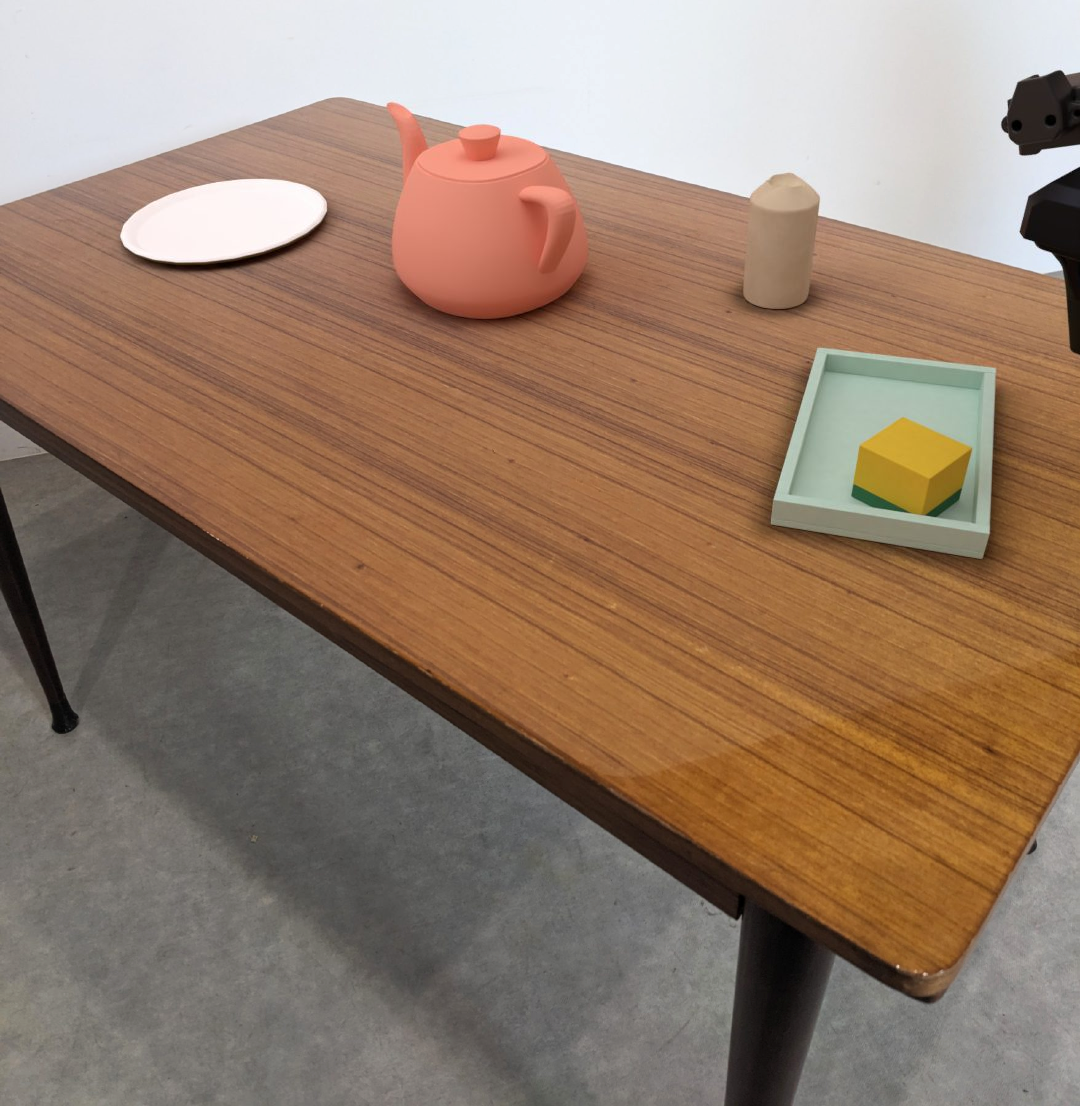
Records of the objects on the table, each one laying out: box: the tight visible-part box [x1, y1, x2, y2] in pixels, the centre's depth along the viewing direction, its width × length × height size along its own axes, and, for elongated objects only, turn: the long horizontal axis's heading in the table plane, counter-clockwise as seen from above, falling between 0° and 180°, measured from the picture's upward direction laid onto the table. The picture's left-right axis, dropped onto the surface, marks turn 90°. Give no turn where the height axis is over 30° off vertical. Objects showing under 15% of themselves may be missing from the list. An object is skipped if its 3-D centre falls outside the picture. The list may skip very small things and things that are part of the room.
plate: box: [119, 178, 328, 266], centre depth 107 cm, size 21×21×1 cm
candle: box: [742, 172, 821, 310], centre depth 87 cm, size 6×6×10 cm
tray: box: [770, 346, 997, 560], centre depth 71 cm, size 20×13×2 cm, turn 161°
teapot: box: [386, 101, 590, 320], centre depth 91 cm, size 25×17×13 cm
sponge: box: [851, 417, 972, 517], centre depth 65 cm, size 5×4×4 cm
